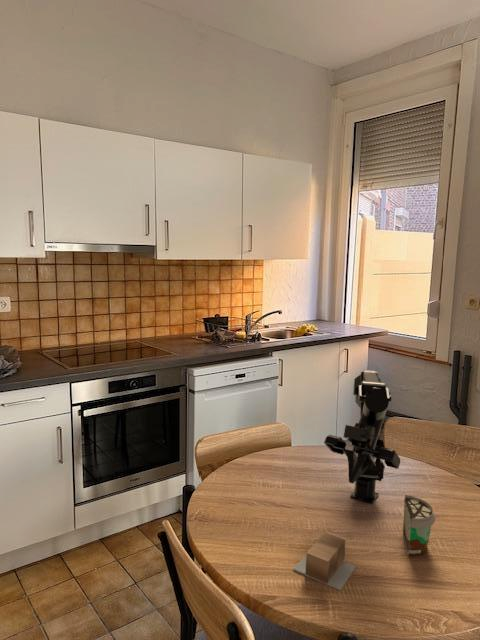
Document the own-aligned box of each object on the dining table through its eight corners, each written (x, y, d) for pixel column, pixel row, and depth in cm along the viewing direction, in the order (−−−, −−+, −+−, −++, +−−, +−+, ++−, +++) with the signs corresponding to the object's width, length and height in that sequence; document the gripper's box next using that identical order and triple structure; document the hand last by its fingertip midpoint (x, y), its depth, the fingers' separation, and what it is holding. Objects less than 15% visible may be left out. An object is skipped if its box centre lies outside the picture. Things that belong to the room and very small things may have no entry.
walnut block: (325, 531, 110) (306, 552, 102) (345, 539, 107) (328, 561, 99) (324, 551, 111) (305, 574, 102) (344, 559, 108) (326, 583, 100)
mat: (311, 550, 112) (311, 548, 112) (355, 568, 106) (356, 566, 106) (293, 570, 104) (293, 568, 104) (340, 590, 98) (340, 588, 98)
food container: (437, 564, 108) (440, 523, 107) (409, 560, 109) (412, 519, 108) (427, 534, 120) (430, 496, 119) (401, 530, 121) (404, 493, 120)
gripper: (326, 405, 125) (305, 460, 118) (395, 418, 113) (376, 480, 106) (341, 424, 132) (322, 477, 125) (408, 438, 120) (390, 498, 113)
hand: (350, 482), depth 117 cm, fingers closed
